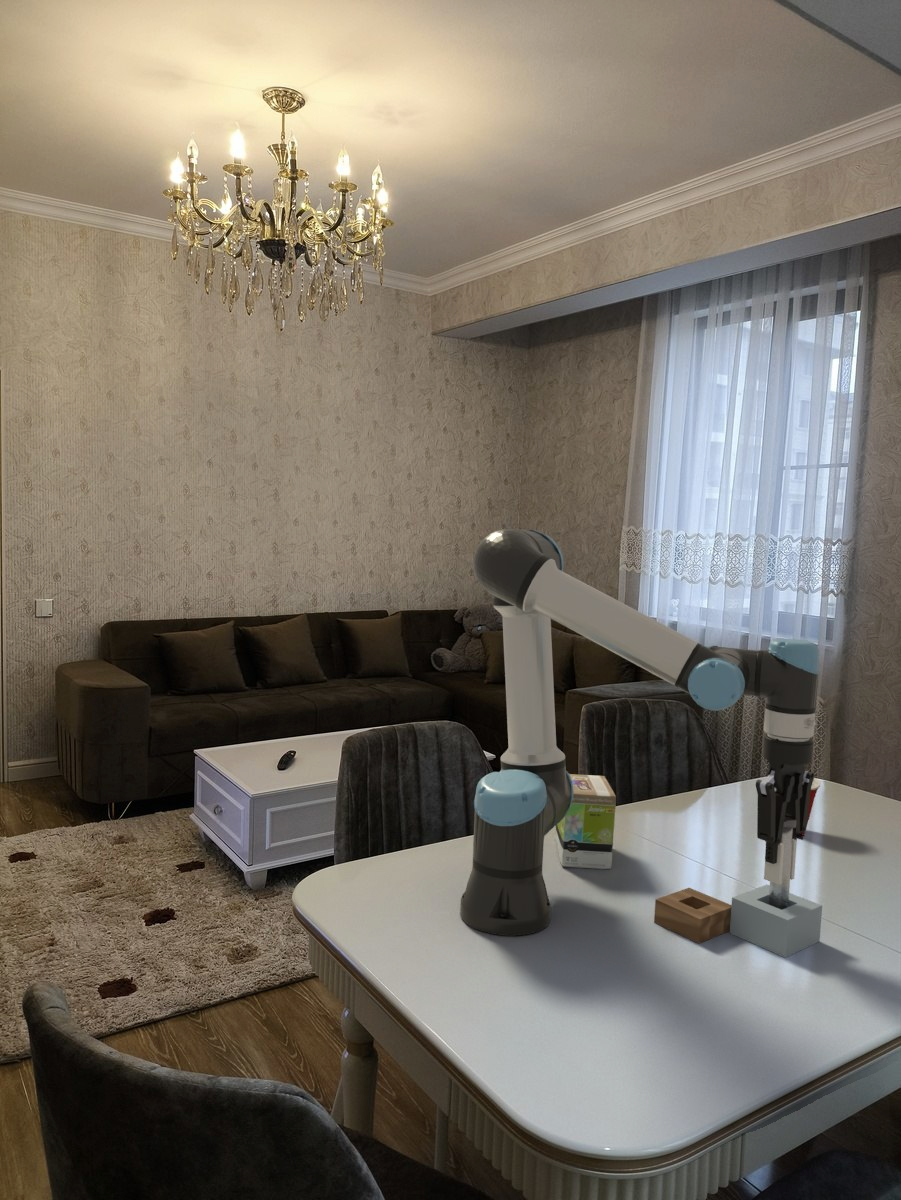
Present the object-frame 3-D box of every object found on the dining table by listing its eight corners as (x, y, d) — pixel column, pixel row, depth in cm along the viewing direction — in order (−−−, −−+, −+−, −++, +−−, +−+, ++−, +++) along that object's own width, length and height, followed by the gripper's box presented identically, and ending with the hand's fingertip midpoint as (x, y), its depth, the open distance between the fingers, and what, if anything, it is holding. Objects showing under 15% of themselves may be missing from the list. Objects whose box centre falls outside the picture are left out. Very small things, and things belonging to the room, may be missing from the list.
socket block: (785, 957, 138) (787, 920, 137) (729, 933, 146) (732, 897, 145) (819, 941, 144) (822, 905, 143) (764, 918, 152) (767, 884, 151)
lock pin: (781, 928, 142) (787, 824, 140) (759, 919, 145) (765, 817, 144) (795, 922, 144) (801, 819, 143) (773, 914, 147) (779, 813, 146)
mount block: (698, 943, 141) (700, 919, 141) (654, 922, 149) (655, 899, 148) (732, 929, 147) (734, 906, 147) (687, 909, 154) (689, 887, 154)
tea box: (613, 870, 171) (617, 795, 170) (560, 868, 171) (564, 792, 170) (601, 843, 186) (605, 773, 185) (553, 840, 186) (556, 771, 185)
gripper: (781, 747, 134) (771, 898, 136) (837, 735, 144) (827, 876, 146) (738, 737, 140) (729, 881, 142) (794, 726, 150) (785, 861, 152)
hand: (779, 878), depth 144 cm, fingers closed on lock pin, 3 cm apart
